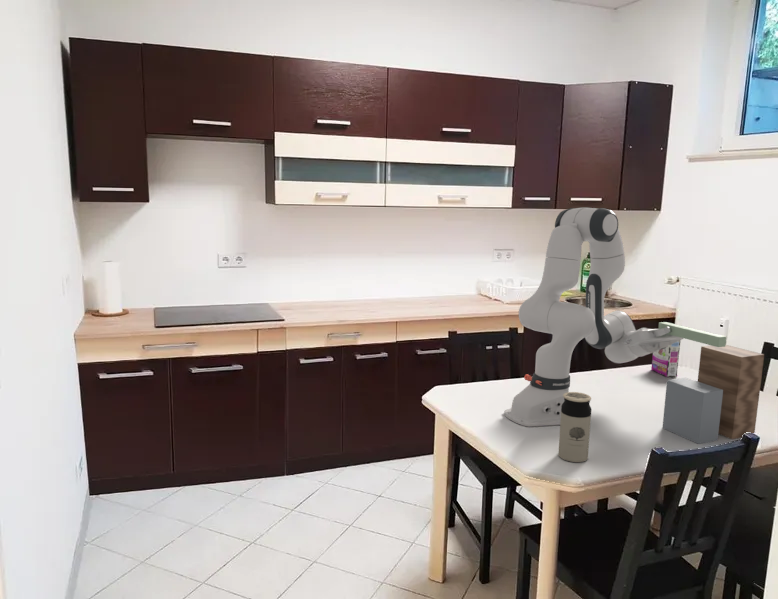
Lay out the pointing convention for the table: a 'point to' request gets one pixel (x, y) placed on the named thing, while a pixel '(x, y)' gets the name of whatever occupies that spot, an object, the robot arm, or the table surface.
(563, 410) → the travel mug
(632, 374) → the table surface
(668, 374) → the candy bar box
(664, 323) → the rail
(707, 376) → the walnut stand
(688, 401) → the grey pedestal
